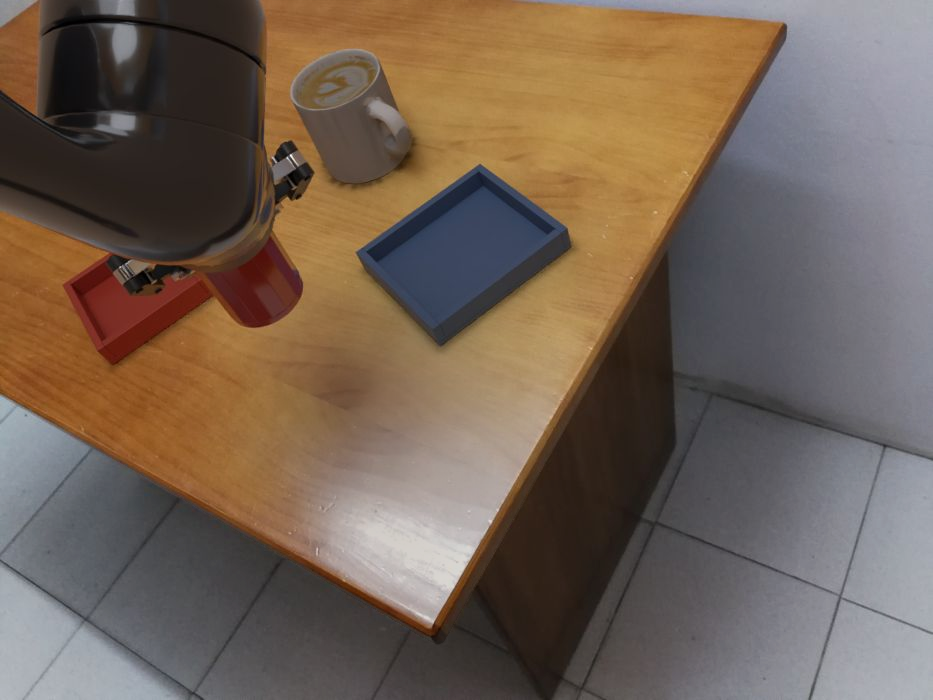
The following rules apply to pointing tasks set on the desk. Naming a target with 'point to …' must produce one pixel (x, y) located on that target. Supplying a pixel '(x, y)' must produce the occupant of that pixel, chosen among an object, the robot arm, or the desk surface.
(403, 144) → the coffee mug
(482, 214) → the blue tray
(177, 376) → the desk surface
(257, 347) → the desk surface
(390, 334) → the desk surface
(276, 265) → the red cup
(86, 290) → the red tray
